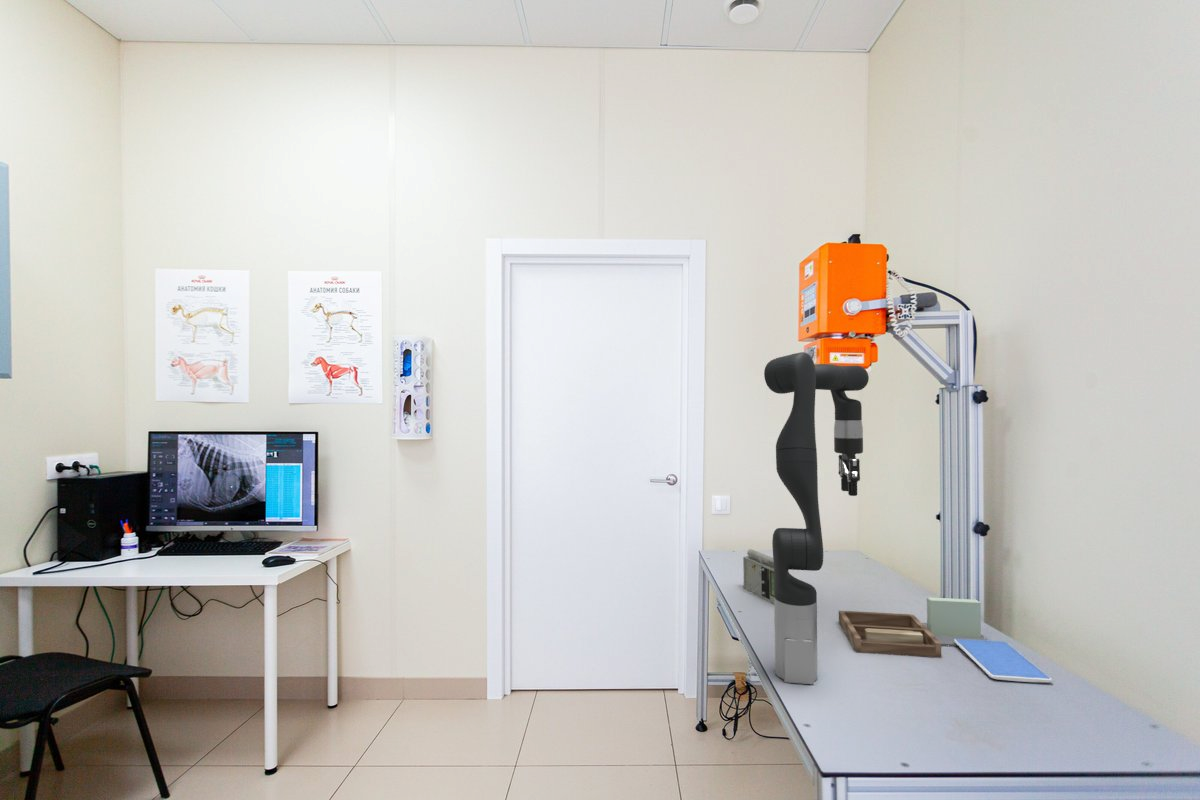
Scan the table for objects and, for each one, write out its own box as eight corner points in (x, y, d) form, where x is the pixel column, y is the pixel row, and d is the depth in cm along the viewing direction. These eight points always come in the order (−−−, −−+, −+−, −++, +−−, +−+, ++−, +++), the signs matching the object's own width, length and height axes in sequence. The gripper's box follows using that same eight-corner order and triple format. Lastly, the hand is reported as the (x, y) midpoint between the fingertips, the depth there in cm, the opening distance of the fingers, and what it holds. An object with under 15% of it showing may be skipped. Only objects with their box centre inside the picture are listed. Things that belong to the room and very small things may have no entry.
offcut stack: (923, 653, 141) (923, 635, 141) (867, 649, 143) (866, 631, 143) (917, 646, 145) (917, 628, 145) (862, 642, 147) (862, 625, 147)
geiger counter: (739, 547, 190) (789, 567, 167) (755, 545, 192) (807, 564, 169) (740, 589, 190) (790, 615, 167) (756, 586, 192) (807, 611, 169)
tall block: (980, 637, 148) (980, 602, 148) (930, 634, 150) (930, 600, 151) (976, 633, 151) (976, 599, 151) (927, 630, 153) (926, 597, 153)
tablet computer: (952, 642, 145) (952, 637, 145) (1006, 645, 143) (1006, 640, 143) (991, 681, 126) (991, 675, 126) (1054, 685, 124) (1054, 679, 124)
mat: (996, 649, 142) (996, 647, 142) (935, 645, 145) (935, 643, 145) (970, 627, 156) (970, 625, 156) (915, 624, 159) (915, 622, 159)
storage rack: (941, 657, 138) (941, 643, 138) (855, 652, 142) (855, 638, 142) (913, 627, 157) (913, 614, 157) (838, 622, 160) (838, 610, 160)
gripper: (869, 437, 154) (870, 497, 154) (856, 434, 168) (856, 489, 168) (840, 437, 156) (840, 497, 156) (829, 434, 170) (829, 489, 170)
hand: (849, 493), depth 162 cm, fingers open, 8 cm apart
